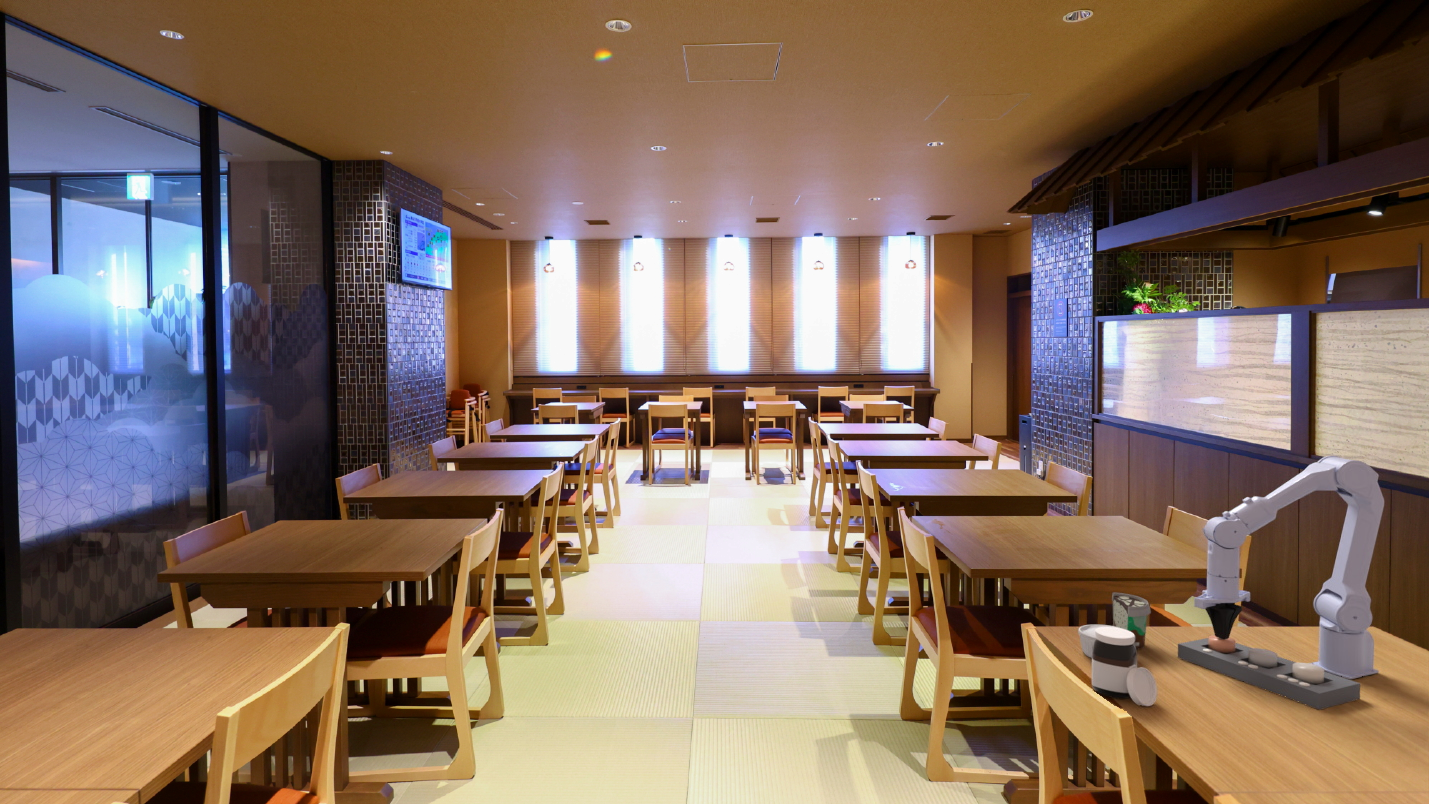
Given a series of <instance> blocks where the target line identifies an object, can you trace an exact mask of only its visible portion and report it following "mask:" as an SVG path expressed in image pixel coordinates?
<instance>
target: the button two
mask: <svg viewBox="0 0 1429 804" xmlns="http://www.w3.org/2000/svg"><path fill="white" fill-rule="evenodd" d="M1250 648H1251V649H1249V655H1248V661H1249V662H1250V663H1251V664H1254V665H1257V666H1261V667H1267V668H1274V667H1277V659H1278V657H1279V656H1278V653H1277V652H1276V651H1275V652H1274V651H1272V650H1271V649H1270V650H1269V649H1265V648H1257V647H1255V648H1254V647H1250Z"/></svg>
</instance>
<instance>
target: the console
mask: <svg viewBox="0 0 1429 804" xmlns="http://www.w3.org/2000/svg"><path fill="white" fill-rule="evenodd" d="M1208 645H1209V637H1206V638H1201V639H1196V640H1189V641H1186V642H1180V643H1177V658H1178V659H1182V660H1184V661H1187V662H1189V663H1192V664H1195V665H1198V666H1200V667H1202V666H1203V668H1206V669H1208V670H1211V671H1213V672H1216V671H1217V672H1216V673H1218V674H1221V675H1224V674H1225V675H1224V676H1226V677H1229V676H1231V677H1230V678H1232V677H1233V679H1235V680H1238V681H1241V682H1243V681H1244V683H1245V684H1248V685H1252V686H1254V687H1256V686H1257V688H1260V689H1261V690H1262V689H1263V690H1265V689H1266V690H1265V691H1267V690H1268V692H1270V691H1272V692H1271V693H1273V692H1274V693H1273V694H1275V693H1276V695H1278V694H1280V695H1279V696H1281V695H1282V696H1281V697H1284V696H1286V697H1287V699H1289V698H1290V699H1289V700H1292V699H1294V700H1295V702H1297V701H1299V702H1298V703H1300V702H1301V703H1300V704H1302V703H1303V704H1302V705H1305V704H1306V706H1308V707H1311V708H1314V709H1317V710H1322V709H1327V708H1331V707H1335V706H1339V705H1342V704H1346V703H1350V702H1353V701H1357V700H1356V699H1358V700H1360V699H1361V683H1360V682H1357V681H1354V680H1353V679H1347V678H1344V677H1341V676H1338V675H1335V674H1332V673H1329V672H1326V671H1324V682H1323V683H1319V684H1315V683H1308V682H1304V681H1301V680H1298V679H1295V678H1294V677H1293V676H1292V675H1293V663H1297V662H1296V661H1294V660H1290V659H1287V658H1284V657H1281V656H1278V659H1277V667H1274V668H1267V667H1261V666H1257V665H1254V664H1251V663H1250V662H1249V661H1248V655H1249V649H1251V648H1252V647H1250V646H1247V645H1243V644H1241V643H1238V642H1236V644H1235V653H1221V652H1217V651H1214V650H1211V649H1209V647H1208ZM1286 697H1285V698H1286ZM1294 700H1293V701H1294Z"/></svg>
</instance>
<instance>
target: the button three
mask: <svg viewBox="0 0 1429 804" xmlns="http://www.w3.org/2000/svg"><path fill="white" fill-rule="evenodd" d="M1324 672H1325V671H1324V669H1323V668H1321V667H1319V666H1316V665H1313V664H1309V663H1307V662H1296V663H1293V675H1292V676H1293V677H1294V678H1295V679H1298V680H1301V681H1304V682H1308V683H1315V684H1319V683H1323V682H1324Z"/></svg>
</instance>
